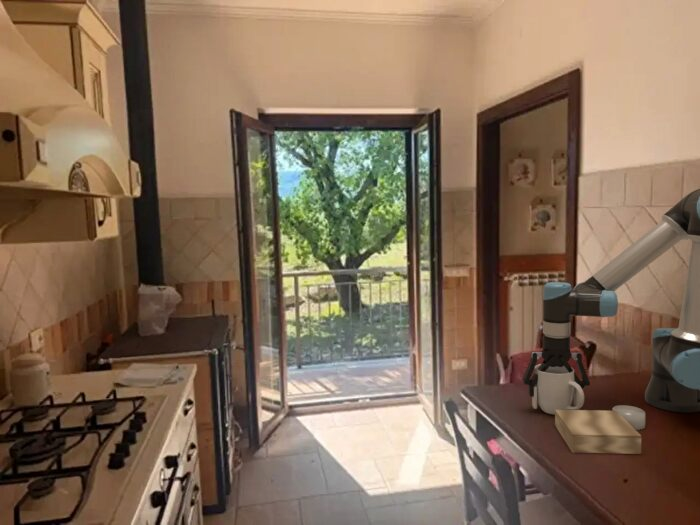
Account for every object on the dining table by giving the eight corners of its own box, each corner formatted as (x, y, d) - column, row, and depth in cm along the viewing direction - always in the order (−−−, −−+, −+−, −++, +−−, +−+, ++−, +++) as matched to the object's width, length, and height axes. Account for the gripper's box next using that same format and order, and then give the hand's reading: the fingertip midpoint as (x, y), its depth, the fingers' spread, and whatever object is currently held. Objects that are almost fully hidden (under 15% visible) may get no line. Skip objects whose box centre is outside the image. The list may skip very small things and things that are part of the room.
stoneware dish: (637, 419, 146) (637, 405, 146) (650, 430, 138) (650, 416, 138) (607, 418, 147) (608, 405, 147) (618, 430, 139) (618, 416, 139)
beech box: (615, 428, 141) (616, 410, 141) (641, 455, 125) (641, 435, 125) (555, 427, 143) (555, 409, 143) (572, 453, 127) (572, 434, 127)
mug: (594, 416, 149) (594, 372, 147) (571, 425, 143) (571, 379, 141) (549, 401, 161) (549, 360, 160) (526, 409, 155) (526, 367, 154)
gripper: (594, 332, 153) (592, 403, 155) (512, 331, 156) (511, 401, 158) (603, 338, 145) (601, 413, 147) (517, 338, 148) (516, 411, 150)
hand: (555, 407), depth 153 cm, fingers closed on mug, 11 cm apart
